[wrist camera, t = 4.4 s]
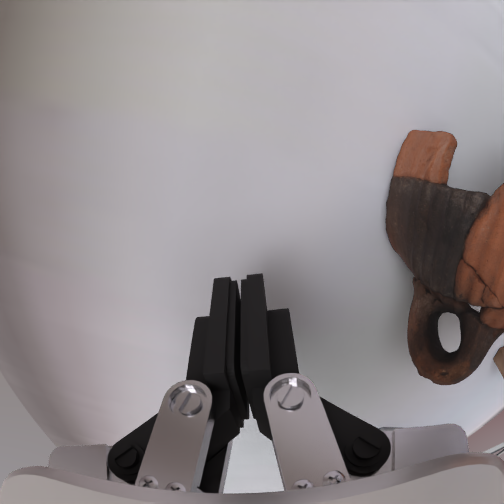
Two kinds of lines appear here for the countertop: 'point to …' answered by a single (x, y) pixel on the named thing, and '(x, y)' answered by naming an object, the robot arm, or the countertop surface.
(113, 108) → the countertop surface
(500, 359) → the frame
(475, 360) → the pottery mug
